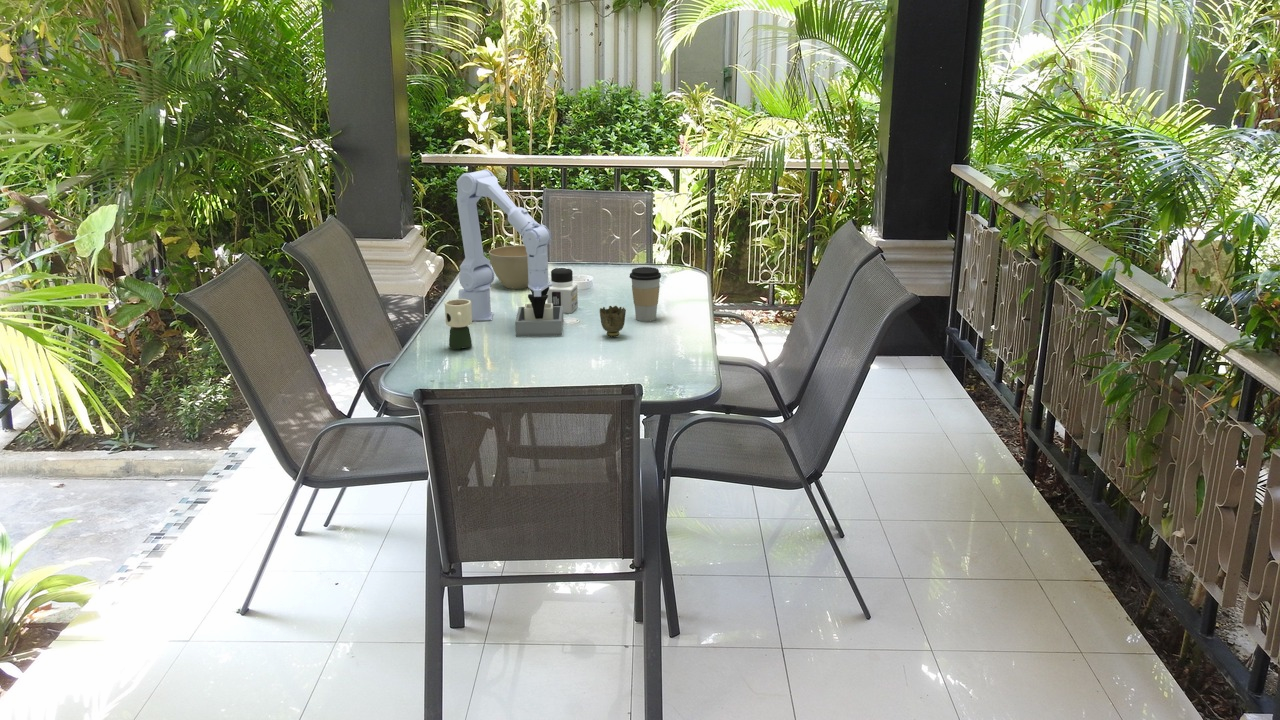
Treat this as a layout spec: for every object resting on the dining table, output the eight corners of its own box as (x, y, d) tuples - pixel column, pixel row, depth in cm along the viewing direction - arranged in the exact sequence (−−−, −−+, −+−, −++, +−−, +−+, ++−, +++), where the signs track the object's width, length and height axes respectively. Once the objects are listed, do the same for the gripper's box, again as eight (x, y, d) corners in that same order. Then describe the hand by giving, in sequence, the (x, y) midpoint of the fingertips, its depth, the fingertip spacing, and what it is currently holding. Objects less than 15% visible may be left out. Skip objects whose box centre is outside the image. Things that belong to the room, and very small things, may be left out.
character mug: (446, 343, 298) (443, 297, 294) (472, 341, 299) (469, 296, 295) (448, 354, 288) (445, 308, 284) (475, 352, 289) (472, 306, 285)
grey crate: (515, 337, 303) (515, 321, 301) (519, 321, 318) (519, 306, 316) (561, 336, 303) (561, 320, 302) (563, 320, 318) (563, 306, 317)
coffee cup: (666, 316, 321) (666, 268, 317) (653, 324, 313) (653, 275, 308) (637, 313, 325) (637, 265, 320) (624, 321, 317) (623, 272, 312)
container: (571, 313, 325) (570, 272, 321) (547, 312, 327) (545, 271, 323) (578, 307, 333) (577, 266, 328) (554, 306, 334) (552, 265, 330)
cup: (606, 341, 298) (606, 313, 295) (595, 334, 304) (595, 307, 302) (630, 337, 301) (630, 310, 299) (619, 331, 307) (618, 304, 305)
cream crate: (525, 328, 307) (524, 308, 306) (526, 323, 313) (525, 303, 311) (552, 328, 308) (552, 308, 306) (553, 323, 313) (552, 303, 311)
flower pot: (555, 283, 361) (554, 248, 357) (522, 295, 347) (520, 258, 343) (513, 277, 370) (512, 242, 367) (479, 288, 356) (477, 252, 352)
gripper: (551, 274, 298) (552, 321, 302) (552, 262, 312) (554, 307, 316) (525, 274, 298) (527, 321, 302) (528, 263, 312) (530, 308, 316)
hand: (539, 314), depth 309 cm, fingers open, 7 cm apart
